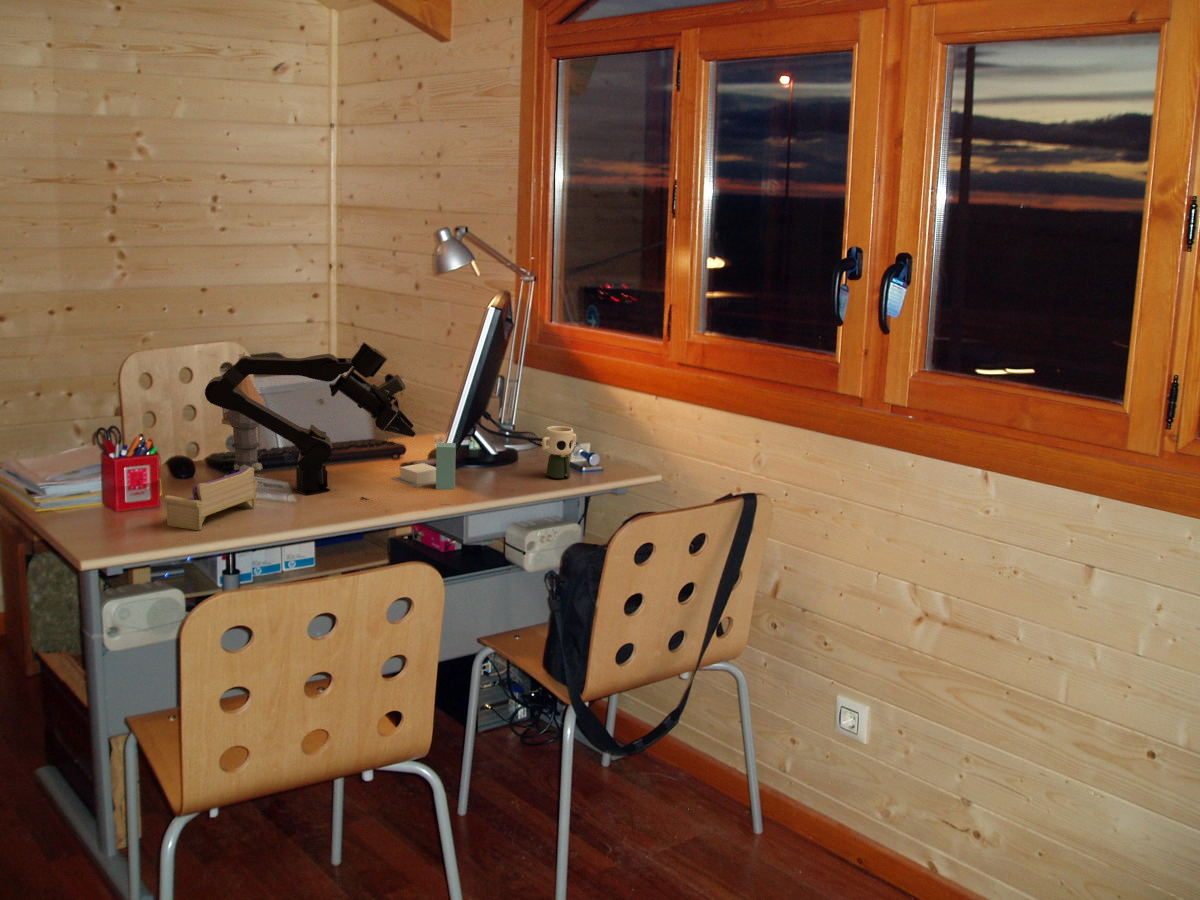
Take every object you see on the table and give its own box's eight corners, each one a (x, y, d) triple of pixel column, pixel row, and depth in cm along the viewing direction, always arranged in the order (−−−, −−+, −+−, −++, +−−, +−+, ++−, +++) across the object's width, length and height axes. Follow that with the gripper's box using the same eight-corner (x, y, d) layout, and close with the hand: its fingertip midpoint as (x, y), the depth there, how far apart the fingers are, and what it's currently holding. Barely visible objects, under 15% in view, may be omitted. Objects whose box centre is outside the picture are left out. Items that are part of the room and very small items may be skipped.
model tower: (237, 461, 296) (234, 347, 289) (274, 465, 293) (271, 351, 286) (214, 468, 287) (211, 352, 280) (252, 474, 284) (249, 356, 277)
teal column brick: (435, 495, 273) (436, 446, 270) (436, 490, 277) (437, 442, 275) (454, 495, 273) (455, 447, 271) (454, 490, 278) (455, 443, 275)
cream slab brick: (417, 484, 276) (417, 472, 275) (400, 478, 280) (400, 467, 280) (440, 480, 281) (440, 468, 280) (423, 474, 285) (423, 463, 285)
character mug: (549, 483, 289) (551, 433, 286) (533, 476, 294) (534, 428, 291) (582, 477, 296) (584, 429, 293) (566, 471, 301) (567, 424, 298)
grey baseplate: (415, 492, 274) (415, 486, 274) (391, 484, 281) (391, 478, 280) (448, 486, 281) (448, 480, 281) (424, 478, 288) (424, 472, 287)
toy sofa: (227, 503, 259) (225, 460, 257) (259, 508, 256) (258, 464, 254) (164, 527, 240) (162, 480, 237) (198, 533, 237) (196, 486, 235)
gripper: (383, 372, 260) (437, 413, 264) (381, 359, 277) (431, 398, 282) (353, 410, 260) (407, 449, 265) (353, 395, 278) (403, 432, 283)
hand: (413, 431), depth 274 cm, fingers open, 9 cm apart
